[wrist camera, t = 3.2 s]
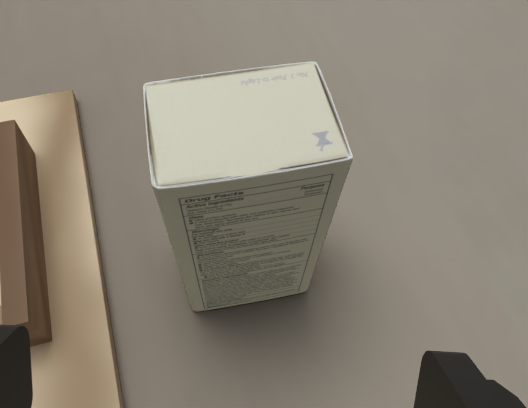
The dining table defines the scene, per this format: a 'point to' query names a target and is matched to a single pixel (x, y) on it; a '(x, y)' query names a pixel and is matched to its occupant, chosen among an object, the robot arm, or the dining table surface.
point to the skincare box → (246, 178)
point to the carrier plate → (54, 255)
